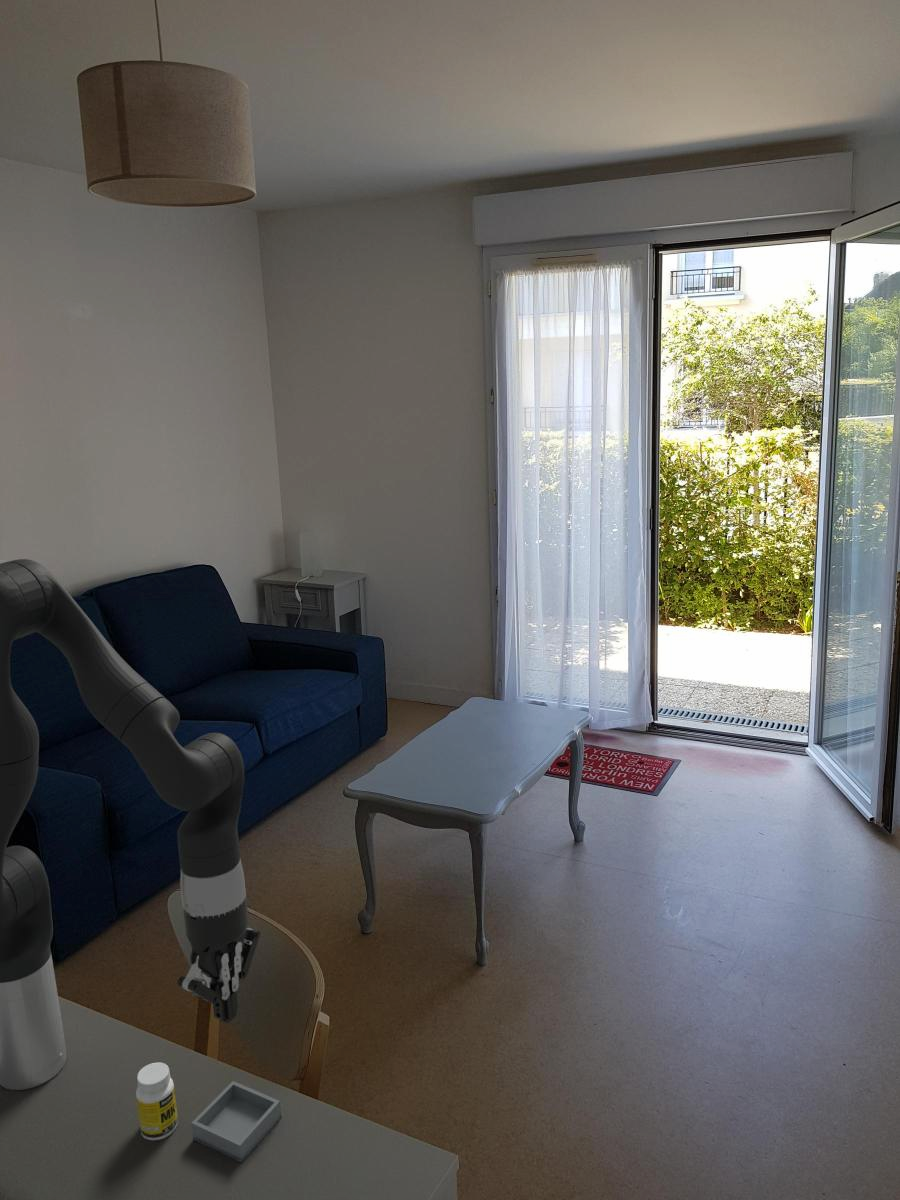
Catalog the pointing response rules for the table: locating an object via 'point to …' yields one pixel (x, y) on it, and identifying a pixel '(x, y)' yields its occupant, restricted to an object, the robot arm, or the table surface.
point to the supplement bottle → (156, 1101)
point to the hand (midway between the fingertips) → (226, 1018)
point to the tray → (236, 1121)
